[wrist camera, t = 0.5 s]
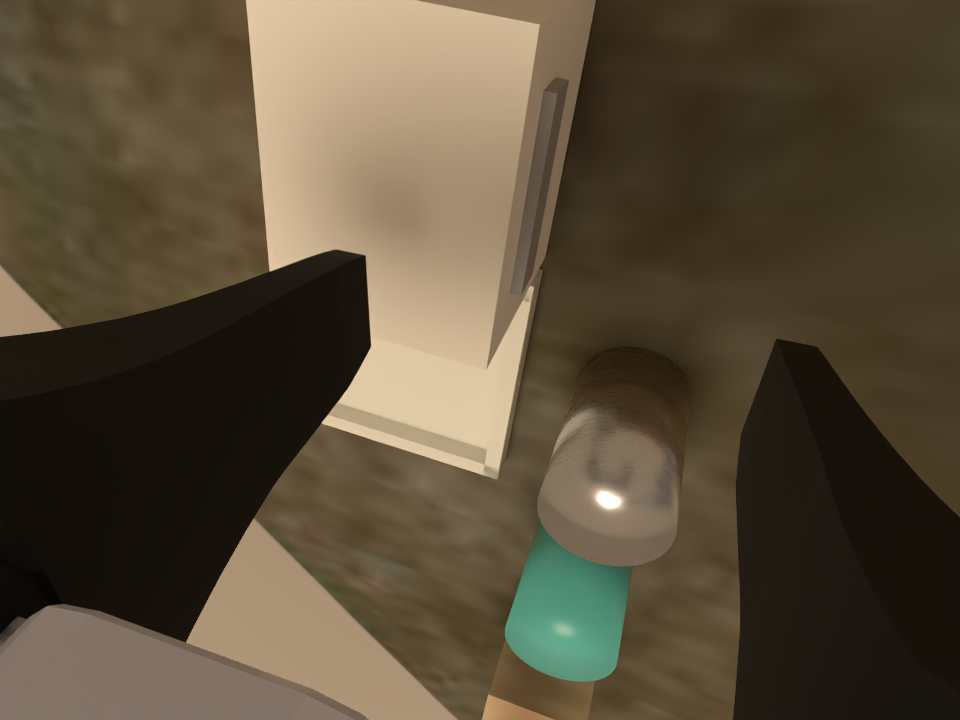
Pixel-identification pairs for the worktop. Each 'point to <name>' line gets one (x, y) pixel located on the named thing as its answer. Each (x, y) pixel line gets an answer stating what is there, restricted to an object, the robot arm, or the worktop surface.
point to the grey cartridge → (619, 460)
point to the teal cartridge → (568, 612)
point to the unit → (419, 151)
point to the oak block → (534, 693)
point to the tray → (440, 399)
